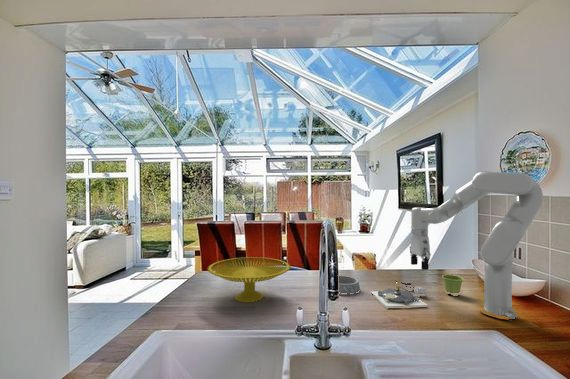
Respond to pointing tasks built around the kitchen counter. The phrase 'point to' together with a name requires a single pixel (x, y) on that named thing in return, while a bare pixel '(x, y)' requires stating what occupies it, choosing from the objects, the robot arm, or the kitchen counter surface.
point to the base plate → (396, 304)
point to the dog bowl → (348, 284)
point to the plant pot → (452, 283)
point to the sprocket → (397, 295)
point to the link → (420, 290)
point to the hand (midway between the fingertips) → (419, 266)
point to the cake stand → (249, 275)
